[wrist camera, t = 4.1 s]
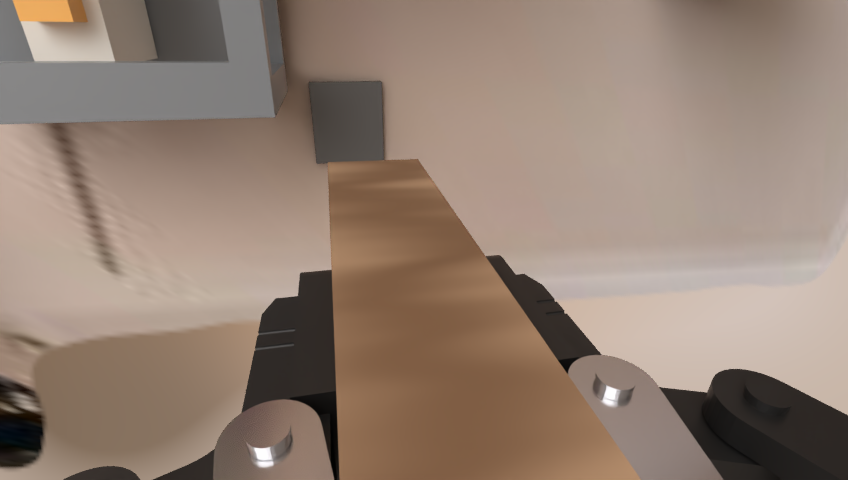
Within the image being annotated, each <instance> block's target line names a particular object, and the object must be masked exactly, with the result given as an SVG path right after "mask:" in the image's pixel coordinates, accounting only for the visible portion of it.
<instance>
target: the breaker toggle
mask: <svg viewBox="0 0 848 480" xmlns="http://www.w3.org/2000/svg"><path fill="white" fill-rule="evenodd" d="M13 3H14V6H15V9H16V11H17V14H18V17H19V20H20V21H21V24H22V27H23V30H24V32H25V35H26V38H27V41H28V44H29V47H30V50H31V52H32V55H33V58H34V61H147V60H152V59H157V58H158V57H157V52H156V48H155V44H154V40H153V35H152V31H151V27H150V23H149V18H148V14H147V10H146V5H145V1H144V0H13Z"/></svg>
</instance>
